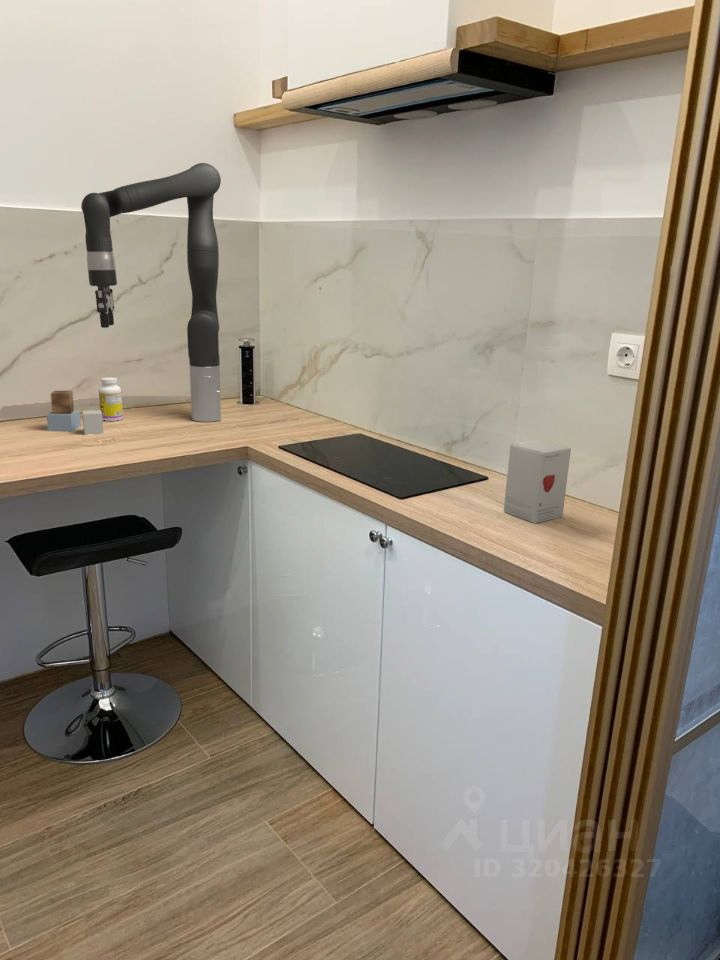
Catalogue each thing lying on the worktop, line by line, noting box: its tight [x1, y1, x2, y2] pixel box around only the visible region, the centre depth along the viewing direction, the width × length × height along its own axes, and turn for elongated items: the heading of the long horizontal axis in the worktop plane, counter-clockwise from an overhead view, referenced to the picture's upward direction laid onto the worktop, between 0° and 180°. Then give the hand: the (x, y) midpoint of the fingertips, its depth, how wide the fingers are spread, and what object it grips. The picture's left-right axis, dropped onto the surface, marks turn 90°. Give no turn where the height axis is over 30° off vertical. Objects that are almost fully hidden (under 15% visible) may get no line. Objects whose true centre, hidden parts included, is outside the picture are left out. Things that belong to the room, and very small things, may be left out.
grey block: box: [81, 409, 104, 436], centre depth 208 cm, size 5×5×6 cm
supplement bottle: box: [98, 377, 124, 422], centre depth 224 cm, size 7×7×13 cm
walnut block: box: [50, 390, 75, 414], centre depth 210 cm, size 5×5×6 cm
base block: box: [46, 409, 82, 433], centre depth 212 cm, size 7×7×5 cm
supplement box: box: [503, 439, 572, 524], centre depth 150 cm, size 9×9×15 cm
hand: (107, 326), depth 211 cm, fingers open, 8 cm apart
